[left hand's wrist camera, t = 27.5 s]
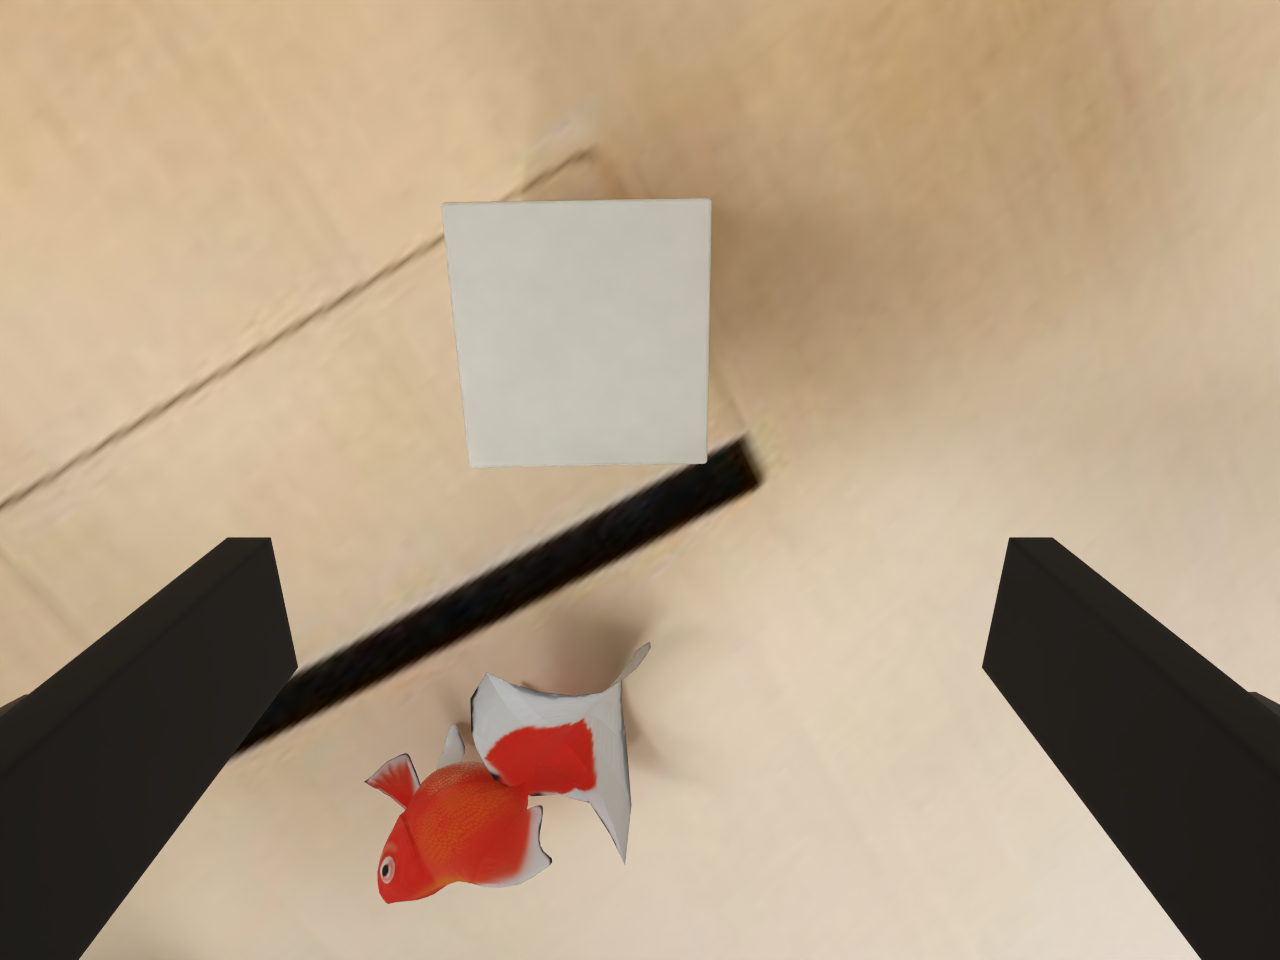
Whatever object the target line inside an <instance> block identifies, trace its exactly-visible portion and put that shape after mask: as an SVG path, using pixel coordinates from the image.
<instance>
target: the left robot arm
mask: <svg viewBox="0 0 1280 960" xmlns="http://www.w3.org/2000/svg"><path fill="white" fill-rule="evenodd" d="M297 668H298V665H297V660H296V655H295V651H294V646H293V641H292V636H291V632H290V627H289V622H288V617H287V613H286V608H285V603H284V598H283V594H282V589H281V584H280V580H279V575H278V570H277V565H276V561H275V556H274V551H273V546H272V542H271V538H226V539H225V540H224V541H223V542H221V543H220V544H219V545H217V546H216V547H215V548H214V549H212V550H211V551H210V552H209V553H207V554H206V555H205V556H204V557H202V558H201V559H200V560H198V561H197V562H196V563H195V564H193V565H192V566H191V567H190V568H188V569H187V570H186V571H185V572H183V573H182V574H181V575H179V576H178V577H177V578H176V579H174V580H173V581H172V582H171V583H169V584H168V585H167V586H166V587H164V588H163V589H162V590H160V591H159V592H158V593H157V594H155V595H154V596H153V597H152V598H150V599H149V600H148V601H147V602H145V603H144V604H143V605H141V606H140V607H139V608H138V609H136V610H135V611H134V612H133V613H131V614H130V615H129V616H128V617H126V618H125V619H124V620H123V621H121V622H120V623H119V624H117V625H116V626H115V627H114V628H112V629H111V630H110V631H109V632H107V633H106V634H105V635H104V636H102V637H101V638H100V639H98V640H97V641H96V642H95V643H93V644H92V645H91V646H90V647H88V648H87V649H86V650H85V651H83V652H82V653H81V654H79V655H78V656H77V657H76V658H74V659H73V660H72V661H71V662H69V663H68V664H67V665H66V666H64V667H63V668H62V669H60V670H59V671H58V672H57V673H55V674H54V675H53V676H52V677H50V678H49V679H48V680H47V681H45V682H44V683H43V684H41V685H40V686H39V687H38V688H36V689H35V690H34V691H33V692H31V693H30V694H29V695H23V696H21V697H20V698H18V699H16V700H14V701H12V702H10V703H8V704H6V705H4V706H3V707H1V708H0V960H79V958H80V957H81V956H82V954H83V953H84V952H85V950H86V949H87V948H88V946H89V945H90V944H91V942H92V941H93V940H94V938H95V937H96V936H97V934H98V933H99V932H100V930H101V929H102V928H103V926H104V925H105V924H106V922H107V921H108V920H109V918H110V917H111V916H112V914H113V913H114V912H115V910H116V909H117V908H118V906H119V905H120V904H121V902H122V901H123V900H124V899H125V897H126V896H127V895H128V893H129V892H130V891H131V889H132V888H133V887H134V885H135V884H136V883H137V881H138V880H139V879H140V877H141V876H142V875H143V873H144V872H145V871H146V869H147V868H148V867H149V865H150V864H151V863H152V861H153V860H154V859H155V857H156V856H157V855H158V853H159V852H160V851H161V849H162V848H163V847H164V845H165V844H166V843H167V841H168V840H169V839H170V837H171V836H172V835H173V833H174V832H175V831H176V829H177V828H178V827H179V825H180V824H181V823H182V821H183V820H184V819H185V817H186V816H187V815H188V813H189V812H190V811H191V809H192V808H193V807H194V805H195V804H196V803H197V801H198V800H199V799H200V797H201V796H202V795H203V793H204V792H205V791H206V789H207V788H208V787H209V785H210V784H211V783H212V781H213V780H214V779H215V777H216V776H217V775H218V773H219V772H220V771H221V769H222V768H223V767H224V765H225V764H226V763H227V761H228V760H229V759H230V757H231V756H232V755H233V753H234V752H235V751H236V749H237V748H238V747H239V745H240V744H241V743H242V741H243V740H244V739H245V737H246V736H247V735H248V733H249V732H250V731H251V729H252V728H253V727H254V725H255V724H256V723H257V721H258V720H259V719H260V717H261V716H262V715H263V713H264V712H265V711H266V709H267V708H268V707H269V705H270V704H271V703H272V701H273V700H274V699H275V697H276V696H277V695H278V693H279V692H280V691H281V689H282V688H283V687H284V685H285V684H286V683H287V681H288V680H289V679H290V677H291V676H292V675H293V673H294V672H295V671H296V669H297ZM982 668H983V669H984V671H985V672H986V673H987V675H988V676H989V677H990V679H991V680H992V681H993V683H994V684H995V685H996V687H997V688H998V689H999V691H1000V692H1001V693H1002V695H1003V696H1004V697H1005V699H1006V700H1007V701H1008V703H1009V704H1010V705H1011V707H1012V708H1013V709H1014V711H1015V712H1016V713H1017V715H1018V716H1019V717H1020V719H1021V720H1022V721H1023V723H1024V724H1025V725H1026V727H1027V728H1028V729H1029V731H1030V732H1031V733H1032V735H1033V736H1034V737H1035V739H1036V740H1037V741H1038V743H1039V744H1040V745H1041V747H1042V748H1043V749H1044V751H1045V752H1046V753H1047V755H1048V756H1049V757H1050V759H1051V760H1052V761H1053V763H1054V764H1055V765H1056V767H1057V768H1058V769H1059V771H1060V772H1061V773H1062V775H1063V776H1064V777H1065V779H1066V780H1067V781H1068V783H1069V784H1070V785H1071V787H1072V788H1073V789H1074V791H1075V792H1076V793H1077V795H1078V796H1079V797H1080V799H1081V800H1082V801H1083V803H1084V804H1085V805H1086V807H1087V808H1088V809H1089V811H1090V812H1091V813H1092V815H1093V816H1094V817H1095V819H1096V820H1097V821H1098V823H1099V824H1100V825H1101V827H1102V828H1103V829H1104V831H1105V832H1106V833H1107V835H1108V836H1109V837H1110V839H1111V840H1112V841H1113V843H1114V844H1115V845H1116V847H1117V848H1118V849H1119V851H1120V852H1121V853H1122V855H1123V856H1124V857H1125V859H1126V860H1127V861H1128V863H1129V864H1130V865H1131V867H1132V868H1133V869H1134V871H1135V872H1136V873H1137V875H1138V876H1139V877H1140V879H1141V880H1142V881H1143V883H1144V884H1145V885H1146V887H1147V888H1148V889H1149V891H1150V892H1151V893H1152V895H1153V896H1154V897H1155V899H1156V900H1157V901H1158V903H1159V904H1160V905H1161V906H1162V908H1163V909H1164V910H1165V912H1166V913H1167V914H1168V916H1169V917H1170V918H1171V920H1172V921H1173V922H1174V924H1175V925H1176V926H1177V928H1178V929H1179V930H1180V932H1181V933H1182V934H1183V936H1184V937H1185V938H1186V940H1187V941H1188V942H1189V944H1190V945H1191V946H1192V948H1193V949H1194V950H1195V952H1196V953H1197V954H1198V956H1199V957H1200V958H1201V960H1280V704H1278V703H1276V702H1274V701H1272V700H1270V699H1268V698H1266V697H1264V696H1262V695H1260V694H1259V693H1257V692H1247V691H1246V690H1245V689H1244V688H1242V687H1241V686H1240V685H1239V684H1237V683H1236V682H1235V681H1233V680H1232V679H1231V678H1230V677H1228V676H1227V675H1226V674H1225V673H1223V672H1222V671H1221V670H1220V669H1218V668H1217V667H1216V666H1214V665H1213V664H1212V663H1211V662H1209V661H1208V660H1207V659H1206V658H1204V657H1203V656H1202V655H1201V654H1199V653H1198V652H1197V651H1195V650H1194V649H1193V648H1192V647H1190V646H1189V645H1188V644H1187V643H1185V642H1184V641H1183V640H1182V639H1180V638H1179V637H1178V636H1176V635H1175V634H1174V633H1173V632H1171V631H1170V630H1169V629H1168V628H1166V627H1165V626H1164V625H1163V624H1161V623H1160V622H1159V621H1157V620H1156V619H1155V618H1154V617H1152V616H1151V615H1150V614H1149V613H1147V612H1146V611H1145V610H1144V609H1142V608H1141V607H1140V606H1139V605H1137V604H1136V603H1135V602H1133V601H1132V600H1131V599H1130V598H1128V597H1127V596H1126V595H1125V594H1123V593H1122V592H1121V591H1120V590H1118V589H1117V588H1116V587H1114V586H1113V585H1112V584H1111V583H1109V582H1108V581H1107V580H1106V579H1104V578H1103V577H1102V576H1101V575H1099V574H1098V573H1097V572H1095V571H1094V570H1093V569H1092V568H1090V567H1089V566H1088V565H1087V564H1085V563H1084V562H1083V561H1082V560H1080V559H1079V558H1078V557H1076V556H1075V555H1074V554H1073V553H1071V552H1070V551H1069V550H1068V549H1066V548H1065V547H1064V546H1063V545H1061V544H1060V543H1059V542H1057V541H1056V540H1055V539H1054V538H1009V542H1008V546H1007V551H1006V556H1005V561H1004V565H1003V570H1002V575H1001V579H1000V584H999V589H998V594H997V598H996V603H995V608H994V613H993V617H992V622H991V627H990V632H989V636H988V641H987V646H986V651H985V655H984V660H983V665H982Z"/></svg>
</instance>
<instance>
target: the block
mask: <svg viewBox="0 0 1280 960" xmlns="http://www.w3.org/2000/svg"><path fill="white" fill-rule="evenodd" d="M441 208H442V217H443V227H444V236H445V245H446V254H447V264H448V273H449V282H450V291H451V301H452V310H453V319H454V328H455V338H456V347H457V356H458V365H459V375H460V384H461V393H462V402H463V412H464V421H465V430H466V439H467V449H468V458H469V465H470V467H472V468H491V467H546V466H601V465H656V464H704V463H706V462H707V435H708V380H709V325H710V270H711V216H712V201H711V199H709V198H674V199H617V200H559V201H502V202H445V203H443V204H442V206H441Z"/></svg>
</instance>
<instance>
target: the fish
mask: <svg viewBox="0 0 1280 960" xmlns="http://www.w3.org/2000/svg"><path fill="white" fill-rule="evenodd" d="M650 648H651V646H650V642H649V643H647V644H645V645H644V646H642V647H641V648H640V649H638V650H637V651H636V652H635V654H634V655H633V657H632V659H631V660H630V662H629V663H628V665H627V666H626V668H625V669H624V670H623V671H622V672H621V674H620V675H619V676H618V677H617V678H616V680H615V681H614V682H613V683H612V685H611V686H610V687H609V688H608V689H606V690H605V691H603V692H602V693H596V694H587V695H578V696H569V695H561V694H552V693H543V692H539V691H535V690H531V689H528V688H524V687H521V686H520V685H518V686H517V685H513V684H510V683H508V682H506V681H504V680H502V679H500V678H497V677H495V676H493V675H491V674H489V673H486V675H485V676H484V678H483V680H482V681H481V683H480V684H479V686H478V688H477V689H476V691H475V693H474V694H473V696H472V697H471V732H472V735H473V739H474V742H475V746H476V749H477V751H478V753H479V755H480V756H481V758H482V760H483V762H484V764H481V763H476V762H461V760H462V758H463V756H464V754H465V746H464V743H463V741H462V738H461V736H460V733H459V730H458V728H457V726H456V725H452V726H451V727H450V729H449V732H448V735H447V738H446V743H445V747H444V750H443V752H442V755H441V758H440V760H439V763H438V767H437V770H436V771H435V772H433V773H432V774H431V775H430V776H428V777H427V778H426V779H425V780H424V781H423V782H422V784H421V785H420V782H419V779H418V776H417V774H416V771H415V769H414V766H413V764H412V761H411V759H410V757H409V755H408V754H402V755H400V756H398V757H396V758H393V759H391V760H389V761H387V762H386V763H385V764H384V765H383V766H382V767H381V768H380V769H379V770H378V771H377V772H376V773H375V774H374V775H373V776H372V777H370V778H369V779H367V780H366V781H365V782H366V783H367V784H369V785H370V786H372V787H374V788H376V789H379V790H380V791H382V792H383V793H385V794H387V795H388V796H390V797H391V798H393V799H394V800H395V801H396V802H397V803H398V804H400V805H401V806H402V807H403V808H404V809H405V811H404V812H403V813H402V814H401V815H400V816H399V818H398V820H397V822H396V824H395V826H394V828H393V830H392V832H391V834H390V836H389V838H388V840H387V842H386V844H385V846H384V849H383V852H382V855H381V858H380V862H379V867H378V887H379V893H380V895H381V896H382V898H383V899H384V900H385V902H386V903H387V904H390V903H394V902H401V901H412V900H418V899H422V898H425V897H428V896H430V895H433V894H435V893H436V892H438V891H439V890H441V889H442V888H443V887H445V886H446V885H448V884H450V883H453V882H457V881H462V882H467V883H473V884H476V885H480V886H484V887H497V888H500V887H506V886H513V885H518V884H520V883H522V882H524V881H526V880H528V879H530V878H532V877H534V876H535V875H537V874H538V873H540V872H541V871H542V870H544V869H545V868H547V867H548V866H549V865H550V864H551V863H552V859H551V857H549V856H548V855H547V854H546V853H545V852H544V851H543V850H542V848H541V846H540V841H539V835H540V828H541V822H542V815H543V807H542V806H535V807H532V808H530V809H527V805H528V795H530V796H542V795H559V794H560V795H563V796H566V797H569V798H572V799H576V800H580V801H585V802H589V803H590V804H591V805H592V807H593V808H594V810H595V811H596V813H597V815H598V816H599V818H600V819H601V821H602V822H603V824H604V825H605V827H606V829H607V830H608V832H609V833H610V835H611V837H612V839H613V841H614V843H615V845H616V847H617V849H618V852H619V854H620V856H621V858H622V860H623V862H624V864H625V860H626V850H627V841H628V831H629V822H630V812H631V796H630V783H629V770H628V757H627V745H626V737H625V729H624V720H623V712H622V690H621V680H622V679H624V678H625V677H626V676H627V675H629V674H630V673H631V672H633V671H634V670H635V669H636V668H637V667H638V666H639V664H640V663H641V661H642V660H643V659H644V657H645V656H646V654H647V653H648V651H649V650H650ZM526 809H527V810H526Z"/></svg>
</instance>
